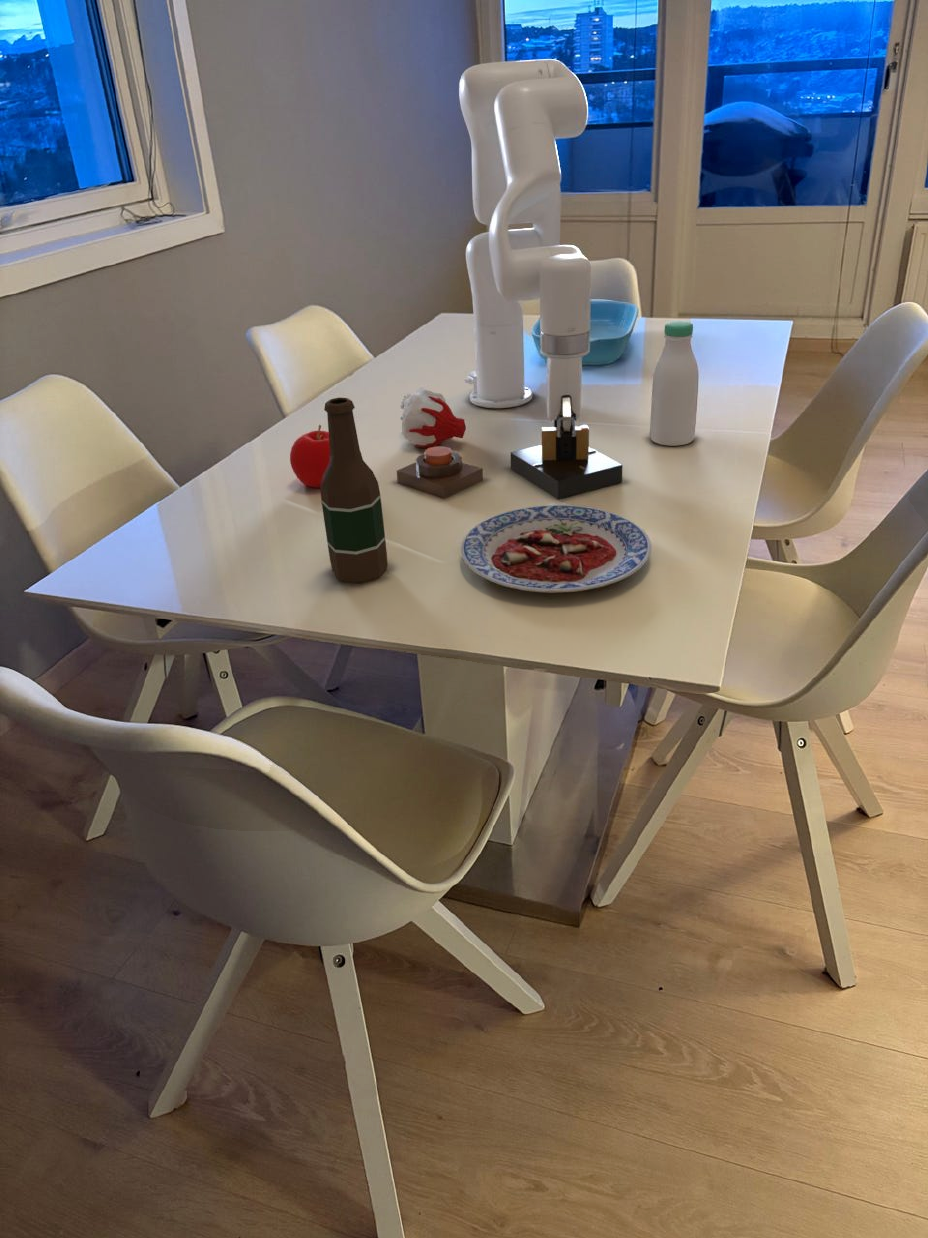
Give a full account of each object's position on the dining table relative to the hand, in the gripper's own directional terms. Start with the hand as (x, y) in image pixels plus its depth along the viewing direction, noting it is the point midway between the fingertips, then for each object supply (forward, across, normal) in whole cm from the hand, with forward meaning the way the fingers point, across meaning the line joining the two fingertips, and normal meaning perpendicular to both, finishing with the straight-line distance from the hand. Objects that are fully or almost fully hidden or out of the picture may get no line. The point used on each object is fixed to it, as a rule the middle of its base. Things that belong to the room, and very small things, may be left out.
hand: (565, 448), depth 152 cm
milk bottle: (+5, -15, +19) cm, 25 cm away
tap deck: (+5, 0, 0) cm, 5 cm away
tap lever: (+2, 0, 0) cm, 2 cm away
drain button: (+1, +1, -21) cm, 21 cm away
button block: (+5, +1, -20) cm, 21 cm away
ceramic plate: (+5, +29, -2) cm, 30 cm away
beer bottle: (+5, +32, -29) cm, 43 cm away
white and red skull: (+5, -17, -24) cm, 29 cm away
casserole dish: (+5, -76, +8) cm, 76 cm away
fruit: (+5, 0, -40) cm, 41 cm away
